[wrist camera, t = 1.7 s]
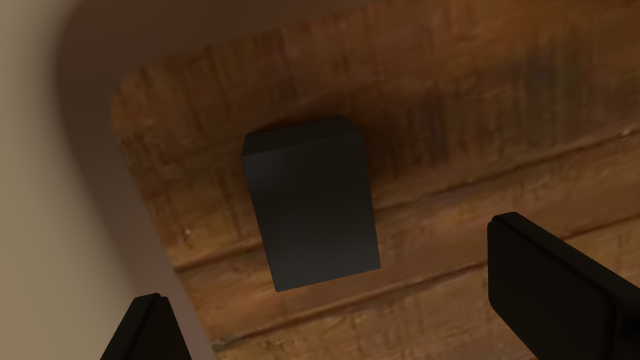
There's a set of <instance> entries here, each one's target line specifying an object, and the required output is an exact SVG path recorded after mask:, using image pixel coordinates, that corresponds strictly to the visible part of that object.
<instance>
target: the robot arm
mask: <svg viewBox="0 0 640 360" xmlns="http://www.w3.org/2000/svg"><path fill="white" fill-rule="evenodd" d="M487 238H488V297H489V302H490V304H491V306H492V308H493V309H494V311H495V312H496V313H497V314H498V315H499V316H500V317H501V318H502V319H503V321H504V322H505V323H506V324H507V325H508V326H509V327H510V328H511V329H512V331H513V332H514V333H515V334H516V335H517V336H518V337H519V338H520V339H521V341H522V342H523V343H524V344H525V345H526V346H527V347H528V348H529V349H530V351H531V352H532V353H533V354H534V355H535V356H536V357H537V358H538V359H539V360H640V288H638V287H637V286H635V285H633V284H632V283H630V282H628V281H627V280H625V279H624V278H622V277H620V276H619V275H617V274H615V273H614V272H612V271H611V270H609V269H607V268H606V267H604V266H603V265H601V264H599V263H598V262H596V261H594V260H593V259H591V258H590V257H588V256H586V255H585V254H583V253H582V252H580V251H578V250H577V249H575V248H573V247H572V246H570V245H569V244H567V243H565V242H564V241H562V240H560V239H559V238H557V237H556V236H554V235H552V234H551V233H549V232H548V231H546V230H544V229H543V228H541V227H539V226H538V225H536V224H535V223H533V222H531V221H530V220H528V219H526V218H525V217H523V216H522V215H520V214H518V213H517V212H509V213H504V214H500V215H496V216H494V217H493V218H492V222H489V223H488V226H487ZM100 360H192V359H191V356H190V354H189V351H188V349H187V346H186V343H185V341H184V338H183V336H182V333H181V330H180V328H179V325H178V323H177V320H176V318H175V315H174V312H173V310H172V307H171V305H170V302H169V300H168V298H167V297H165V296H164V297H161V295H160V294H159V293H153V294H149V295H145V296H140V297H136V298H135V299H134V300H133V301H132V303H131V305H130V307H129V308H128V310H127V312H126V314H125V316H124V317H123V319H122V321H121V323H120V324H119V326H118V328H117V330H116V332H115V333H114V336H113V337H112V339H111V341H110V342H109V344H108V346H107V348H106V350H105V352H104V353H103V355H102V357H101V359H100Z"/></svg>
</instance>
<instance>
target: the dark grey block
mask: <svg viewBox="0 0 640 360" xmlns="http://www.w3.org/2000/svg"><path fill="white" fill-rule="evenodd" d="M241 161H242V164H243V168H244V172H245V176H246V180H247V183H248V187H249V191H250V195H251V199H252V202H253V206H254V210H255V214H256V217H257V221H258V225H259V229H260V233H261V236H262V240H263V244H264V248H265V252H266V255H267V259H268V263H269V267H270V271H271V274H272V278H273V282H274V286H275V290H276V291H277V292H281V291H285V290H289V289H293V288H298V287H302V286H306V285H311V284H315V283H319V282H323V281H328V280H332V279H336V278H341V277H345V276H349V275H353V274H358V273H362V272H366V271H371V270H375V269H379V268H380V259H379V251H378V244H377V236H376V228H375V221H374V213H373V205H372V198H371V190H370V182H369V174H368V167H367V159H366V151H365V144H364V136H363V132H362V131H361V130H360V129H358V128H357V127H356V126H355V125H354V124H353V123H351V122H350V121H349V120H348V119H347V118H345V117H344V116H339V117H334V118H329V119H324V120H319V121H314V122H309V123H304V124H299V125H294V126H289V127H284V128H279V129H274V130H269V131H264V132H259V133H254V134H249V135H246V138H245V142H244V146H243V151H242V155H241Z"/></svg>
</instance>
